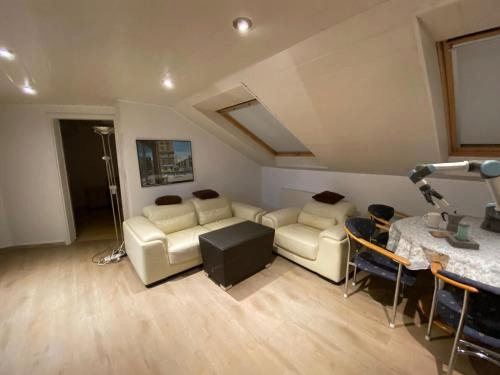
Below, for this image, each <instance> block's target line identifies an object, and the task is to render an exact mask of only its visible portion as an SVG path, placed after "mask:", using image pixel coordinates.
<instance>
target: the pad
mask: <svg viewBox="0 0 500 375" xmlns="http://www.w3.org/2000/svg"><path fill="white" fill-rule="evenodd" d="M428 233H429V234H430V235H431V236H432V237H433V238H440V239H446V235H456V234H455V233H454V232H449V231H439V230H438V231H437V230H428Z"/></svg>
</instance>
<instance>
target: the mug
mask: <svg viewBox="0 0 500 375" xmlns="http://www.w3.org/2000/svg"><path fill="white" fill-rule="evenodd" d="M426 216H427V220H426V219H425V218H424V217H426ZM440 218H441V213H437V212H428V213H427V214H424V215H423V217H422V219H423V221H424V222H426V226H427V227H429V228H434V229H438V228H439V227H440Z"/></svg>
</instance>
